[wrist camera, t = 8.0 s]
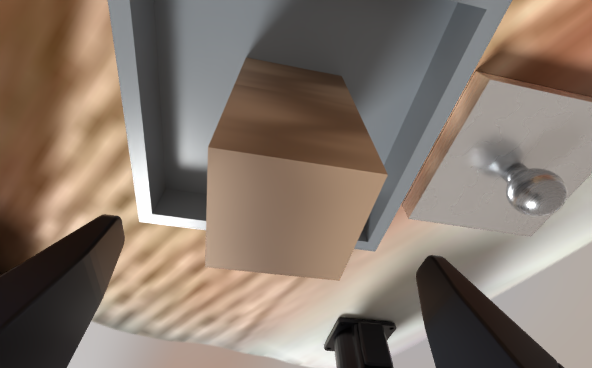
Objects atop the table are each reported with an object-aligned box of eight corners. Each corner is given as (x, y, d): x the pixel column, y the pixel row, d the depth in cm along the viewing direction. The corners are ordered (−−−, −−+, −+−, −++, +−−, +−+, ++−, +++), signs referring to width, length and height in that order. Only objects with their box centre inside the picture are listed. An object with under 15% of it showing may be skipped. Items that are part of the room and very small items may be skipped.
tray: (364, 216, 23) (375, 251, 20) (159, 186, 21) (139, 221, 18) (472, -16, 14) (517, -10, 11) (135, -107, 12) (89, -127, 9)
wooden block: (341, 76, 16) (388, 174, 8) (318, 159, 19) (337, 283, 12) (245, 57, 15) (208, 147, 8) (237, 146, 18) (204, 270, 11)
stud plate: (518, 222, 24) (563, 274, 20) (401, 204, 23) (426, 256, 19) (623, 104, 18) (717, 144, 14) (475, 70, 17) (533, 105, 13)
